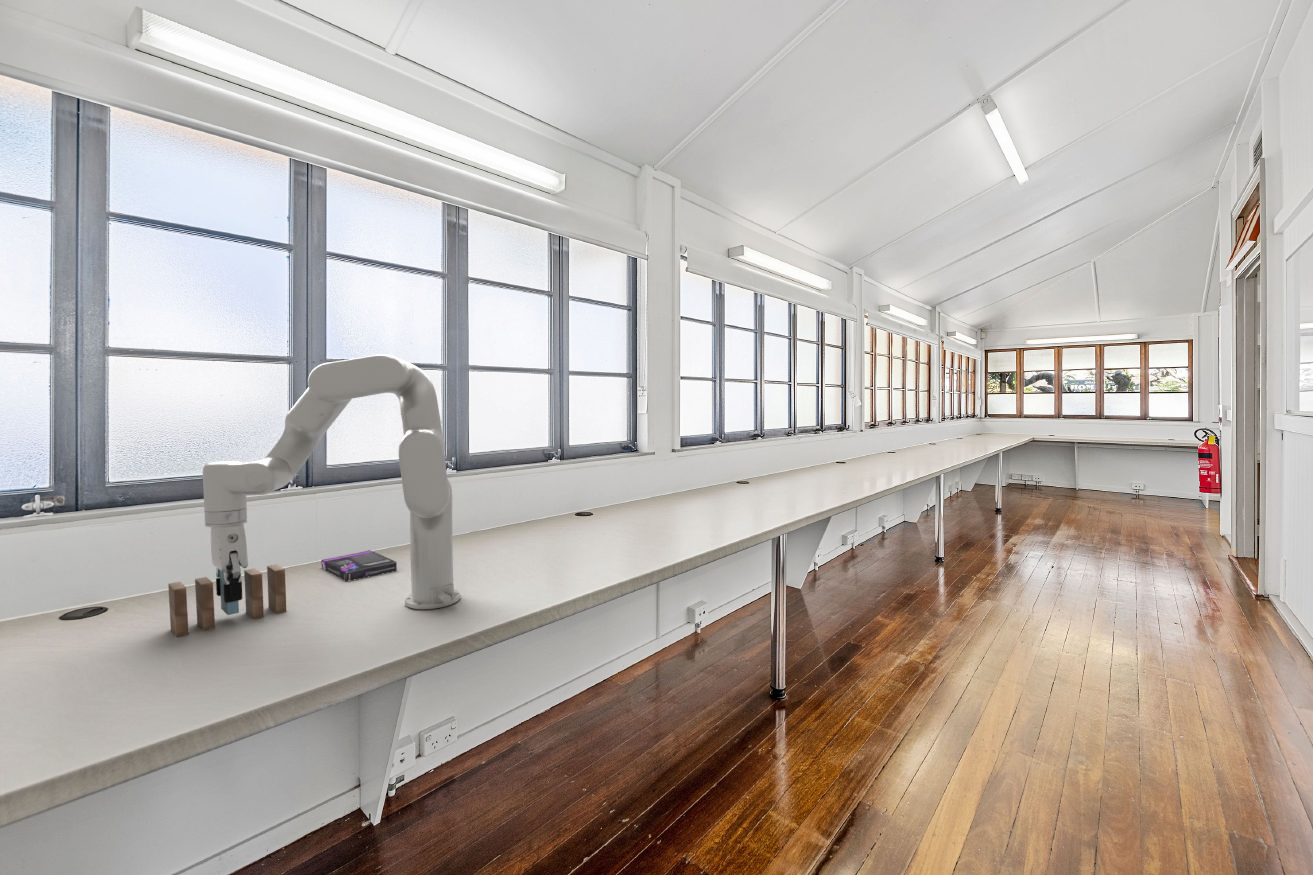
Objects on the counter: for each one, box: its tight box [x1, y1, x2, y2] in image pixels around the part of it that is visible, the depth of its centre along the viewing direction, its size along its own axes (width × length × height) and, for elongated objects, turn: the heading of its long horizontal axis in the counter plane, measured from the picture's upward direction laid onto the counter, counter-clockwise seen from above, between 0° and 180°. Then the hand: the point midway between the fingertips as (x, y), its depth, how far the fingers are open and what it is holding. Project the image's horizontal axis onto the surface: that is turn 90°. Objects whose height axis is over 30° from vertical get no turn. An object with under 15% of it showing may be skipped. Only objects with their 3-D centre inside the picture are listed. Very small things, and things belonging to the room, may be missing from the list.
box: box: [320, 549, 398, 582], centre depth 170 cm, size 14×4×20 cm
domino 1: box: [167, 581, 189, 638], centre depth 123 cm, size 2×6×10 cm, turn 48°
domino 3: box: [219, 567, 240, 616], centre depth 130 cm, size 2×6×10 cm, turn 48°
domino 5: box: [266, 563, 287, 615], centre depth 137 cm, size 2×6×10 cm, turn 48°
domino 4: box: [243, 567, 265, 620], centre depth 133 cm, size 2×6×10 cm, turn 48°
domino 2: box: [194, 576, 216, 632], centre depth 126 cm, size 2×6×10 cm, turn 48°
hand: (229, 596), depth 130 cm, fingers closed on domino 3, 5 cm apart
